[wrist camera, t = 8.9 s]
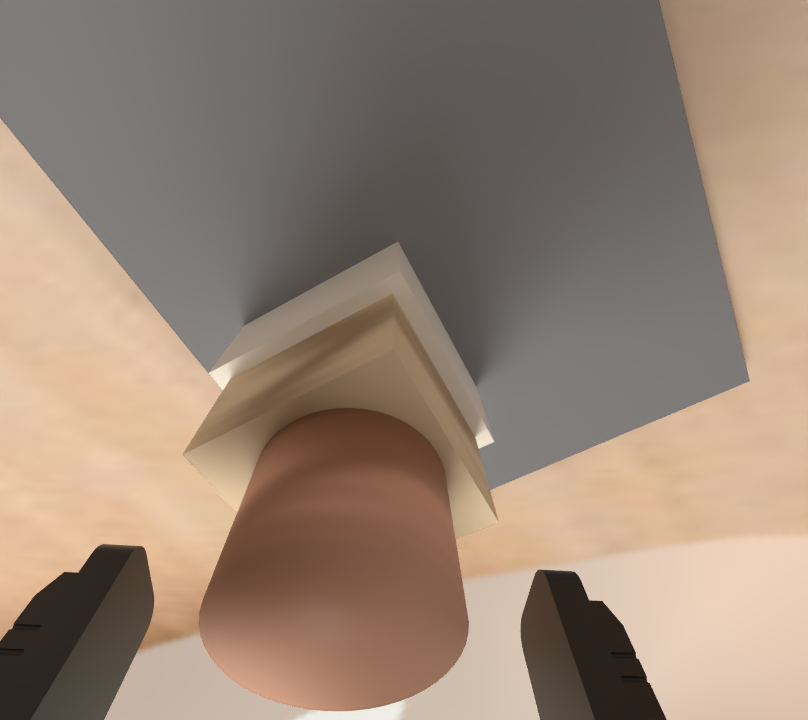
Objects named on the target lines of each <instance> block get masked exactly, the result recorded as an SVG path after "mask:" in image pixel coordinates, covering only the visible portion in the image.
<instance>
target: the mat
mask: <svg viewBox="0 0 808 720" xmlns="http://www.w3.org/2000/svg"><path fill="white" fill-rule="evenodd" d="M0 118H1V119H2V121H3V122H4V123H5V124H6V125H7V127H8V128H9V129H10V130H11V132H12V133H13V134H14V135H15V136H16V138H17V139H18V140H19V141H20V143H21V144H22V145H23V146H24V147H25V149H26V150H27V151H28V152H29V154H30V155H31V156H32V157H33V159H34V160H35V161H36V162H37V163H38V165H39V166H40V167H41V168H42V170H43V171H44V172H45V173H46V174H47V176H48V177H49V178H50V179H51V181H52V182H53V183H54V184H55V186H56V187H57V188H58V189H59V190H60V192H61V193H62V194H63V195H64V197H65V198H66V199H67V200H68V201H69V203H70V204H71V205H72V206H73V208H74V209H75V210H76V211H77V213H78V214H79V215H80V216H81V217H82V219H83V220H84V221H85V222H86V224H87V225H88V226H89V227H90V228H91V230H92V231H93V232H94V233H95V235H96V236H97V237H98V238H99V239H100V241H101V242H102V243H103V244H104V246H105V247H106V248H107V249H108V251H109V252H110V253H111V254H112V255H113V257H114V258H115V259H116V260H117V262H118V263H119V264H120V265H121V266H122V268H123V269H124V270H125V271H126V273H127V274H128V275H129V276H130V278H131V279H132V280H133V281H134V282H135V284H136V285H137V286H138V287H139V289H140V290H141V291H142V292H143V293H144V295H145V296H146V297H147V298H148V300H149V301H150V302H151V303H152V304H153V306H154V307H155V308H156V309H157V311H158V312H159V313H160V314H161V316H162V317H163V318H164V319H165V320H166V322H167V323H168V324H169V325H170V327H171V328H172V329H173V330H174V331H175V333H176V334H177V335H178V336H179V338H180V339H181V340H182V341H183V343H184V344H185V345H186V346H187V347H188V349H189V350H190V351H191V352H192V354H193V355H194V356H195V357H196V358H197V360H198V361H199V362H200V363H201V365H202V366H203V367H204V368H205V369H206V371H207V372H208V373H209V372H210V370H211V369H212V368H213V366H214V365H215V364H216V362H217V361H218V360H219V358H220V357H221V355H222V354H223V353H224V351H225V350H226V349H227V347H228V346H229V344H230V343H231V342H232V340H233V339H234V338H235V336H236V335H237V334H238V332H239V331H240V329H241V328H242V327H243V326H244V325H246V324H248V323H250V322H252V321H253V320H255V319H257V318H259V317H261V316H263V315H264V314H266V313H268V312H270V311H272V310H274V309H275V308H277V307H279V306H281V305H283V304H285V303H286V302H288V301H290V300H292V299H294V298H295V297H297V296H299V295H301V294H303V293H305V292H306V291H308V290H310V289H312V288H314V287H316V286H317V285H319V284H321V283H323V282H325V281H327V280H328V279H330V278H332V277H334V276H336V275H338V274H339V273H341V272H343V271H345V270H347V269H349V268H350V267H352V266H354V265H356V264H358V263H359V262H361V261H363V260H365V259H367V258H369V257H370V256H372V255H374V254H376V253H378V252H380V251H381V250H383V249H385V248H387V247H389V246H391V245H392V244H394V243H396V242H399V244H400V246H401V248H402V250H403V252H404V254H405V255H406V257H407V259H408V261H409V263H410V265H411V267H412V268H413V270H414V272H415V274H416V276H417V278H418V280H419V281H420V283H421V285H422V287H423V289H424V291H425V292H426V294H427V296H428V298H429V300H430V302H431V304H432V305H433V307H434V309H435V311H436V313H437V315H438V317H439V318H440V320H441V322H442V324H443V326H444V328H445V330H446V331H447V333H448V335H449V337H450V339H451V341H452V343H453V344H454V346H455V348H456V350H457V352H458V354H459V356H460V357H461V359H462V361H463V363H464V365H465V367H466V369H467V370H468V372H469V374H470V376H471V378H472V380H473V381H474V383H475V385H476V387H477V390H478V393H479V397H480V400H481V403H482V406H483V409H484V412H485V415H486V418H487V421H488V424H489V427H490V430H491V433H492V436H493V439H494V442H493V443H491V444H488V445H486V446H484V447H482V448H479V452H480V456H481V460H482V463H483V467H484V471H485V474H486V478H487V481H488V485H489V489H490V490H491V489H493V488H496V487H498V486H500V485H503V484H505V483H508V482H510V481H512V480H515V479H517V478H520V477H522V476H524V475H527V474H529V473H531V472H534V471H536V470H539V469H541V468H543V467H546V466H548V465H551V464H553V463H555V462H558V461H560V460H562V459H565V458H567V457H570V456H572V455H574V454H577V453H579V452H582V451H584V450H586V449H589V448H591V447H593V446H596V445H598V444H601V443H603V442H605V441H608V440H610V439H613V438H615V437H617V436H620V435H622V434H624V433H627V432H629V431H632V430H634V429H636V428H639V427H641V426H644V425H646V424H648V423H651V422H653V421H655V420H658V419H660V418H663V417H665V416H667V415H670V414H672V413H675V412H677V411H679V410H682V409H684V408H686V407H689V406H691V405H694V404H696V403H698V402H701V401H703V400H706V399H708V398H710V397H713V396H715V395H717V394H720V393H722V392H725V391H727V390H729V389H732V388H734V387H737V386H739V385H741V384H744V383H746V382H748V381H750V380H749V376H748V372H747V368H746V363H745V359H744V355H743V351H742V347H741V342H740V338H739V334H738V330H737V326H736V322H735V317H734V313H733V309H732V305H731V301H730V297H729V292H728V288H727V284H726V280H725V276H724V272H723V267H722V263H721V259H720V255H719V251H718V247H717V242H716V238H715V234H714V230H713V226H712V222H711V217H710V213H709V209H708V205H707V201H706V197H705V192H704V188H703V184H702V180H701V176H700V171H699V167H698V163H697V159H696V155H695V151H694V146H693V142H692V138H691V134H690V130H689V126H688V121H687V117H686V113H685V109H684V105H683V101H682V96H681V92H680V88H679V84H678V80H677V76H676V71H675V67H674V63H673V59H672V55H671V51H670V46H669V42H668V38H667V34H666V30H665V26H664V21H663V17H662V13H661V9H660V5H659V0H0ZM210 376H211V375H210ZM214 381H215V380H214ZM219 387H220V386H219Z"/></svg>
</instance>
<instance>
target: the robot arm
mask: <svg viewBox="0 0 808 720" xmlns="http://www.w3.org/2000/svg"><path fill="white" fill-rule="evenodd" d="M153 608H154V593H153V588H152V582H151V577H150V571H149V566H148V560H147V555H146V551H145V549H144V548H143V547H142V546H127V545H109V544H102V545H100V546H98V547H97V548H96V549H95V550H94V551H93V553H92V554H91V555H90V557H89V558H88V560H87V561H86V563H85V564H84V565H83V567H82V568H81V570H80V571H79V573H73V572H64V573H63V574H61V575H60V576H59V577H58V578H56V579H55V580H54V581H53V582H51V583H50V584H49V585H48V586H46V587H45V588H44V589H42V590H41V591H40V592H39V593H37V594H36V595H35V596H34V597H33V599H32V600H31V601H30V603H29V604H28V605H27V607H26V608H25V609H24V611H23V612H22V613H21V615H20V616H19V617H18V619H17V620H16V621H15V623H14V626H13V628H12V629H11V630H8V632H7V633H6V634H5V636H4V637H3V638H2V640H1V641H0V720H104V719H105V717H106V715H107V712H108V710H109V708H110V706H111V704H112V702H113V700H114V698H115V696H116V694H117V692H118V690H119V688H120V686H121V684H122V681H123V679H124V677H125V675H126V673H127V671H128V669H129V667H130V665H131V663H132V661H133V659H134V657H135V655H136V653H137V650H138V648H139V646H140V644H141V642H142V640H143V638H144V636H145V634H146V632H147V630H148V627H149V624H150V621H151V618H152V614H153ZM521 641H522V648H523V652H524V656H525V660H526V664H527V668H528V672H529V676H530V680H531V684H532V688H533V692H534V696H535V700H536V704H537V708H538V712H539V716H540V720H666V717H665V715H664V713H663V711H662V709H661V707H660V705H659V702H658V700H657V699H656V696H655V694H654V692H653V689H652V688H651V685H650V683H648V682H647V679H646V678H647V676H646V674H645V672H644V670H643V668H642V665H641V663H640V661H639V659H637V658H636V652H635V650H634V648H633V646H632V644H631V642H630V639H629V637H628V635H627V633H626V631H625V629H624V626H623V625H622V624H621V623H620V621H619V620H618V619H617V618H616V617H615V615H614V614H613V613H612V612H611V611H610V610H609V608H608V607H607V606H606V605H605V604H604V603H603V601H589V599H588V597H587V594H586V592H585V590H584V587H583V585H582V582H581V580H580V578H579V576H578V575H577V574H576V573H575V572H572V571H555V570H538V571H537V572H536V573H535V576H534V579H533V582H532V586H531V589H530V592H529V595H528V598H527V601H526V605H525V608H524V611H523V614H522V619H521Z"/></svg>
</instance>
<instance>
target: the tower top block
mask: <svg viewBox="0 0 808 720" xmlns="http://www.w3.org/2000/svg"><path fill="white" fill-rule="evenodd" d="M335 408H360V409H367V410H373V411H378V412H381V413H384V414H388V415H390V416H393V417H395V418H397V419H400V420H402V421H403V422H405V423H407V424H408V425H410V426H412V427H413V428H414V429H416V430H417V431H418V432H420V433H421V434H422V435H423V436H424V437H425V438H426V439H427V440H428V441H429V442H430V443H431V445H432V446H433V447H434V449H435V450H436V452H437V454H438V455H439V457H440V459H441V461H442V464H443V467H444V470H445V476H446V482H447V489H448V495H449V501H450V508H451V514H452V520H453V526H454V533H455V539H458V538H460V537H463V536H465V535H468V534H470V533H473V532H475V531H478V530H480V529H483V528H485V527H487V526H490V525H492V524H495V523H497V522H498V518H497V514H496V511H495V507H494V503H493V500H492V496H491V492H490V489H489V485H488V481H487V478H486V474H485V471H484V467H483V463H482V460H481V456H480V452H479V449H478V445H477V441H476V438H475V436H474V434H473V432H472V431H471V429H470V427H469V425H468V424H467V422H466V420H465V418H464V417H463V415H462V413H461V411H460V410H459V408H458V406H457V404H456V403H455V401H454V399H453V397H452V396H451V394H450V392H449V390H448V389H447V387H446V385H445V383H444V382H443V380H442V378H441V376H440V375H439V373H438V371H437V369H436V368H435V366H434V364H433V363H432V361H431V359H430V357H429V356H428V354H427V352H426V350H425V349H424V347H423V345H422V343H421V342H420V340H419V338H418V336H417V335H416V333H415V331H414V329H413V328H412V326H411V324H410V322H409V321H408V319H407V317H406V315H405V314H404V312H403V310H402V308H401V307H400V305H399V303H398V301H397V300H396V298H395V296H394V294H393V293H392V294H390V295H388V296H386V297H384V298H383V299H381V300H379V301H377V302H375V303H373V304H371V305H369V306H367V307H365V308H364V309H362V310H360V311H358V312H356V313H354V314H352V315H350V316H348V317H346V318H345V319H343V320H341V321H339V322H337V323H335V324H333V325H331V326H329V327H327V328H326V329H324V330H322V331H320V332H318V333H316V334H314V335H312V336H310V337H308V338H307V339H305V340H303V341H301V342H299V343H297V344H295V345H293V346H291V347H289V348H288V349H286V350H284V351H282V352H280V353H278V354H276V355H274V356H272V357H270V358H269V359H267V360H265V361H263V362H261V363H259V364H257V365H255V366H253V367H252V368H250V369H248V370H246V371H244V372H242V373H240V374H238V375H236V376H234V377H233V378H231V379H230V380H229V382H228V383H227V385H226V386H225V388H224V390H223V391H222V393H221V394H220V396H219V397H218V399H217V401H216V402H215V404H214V405H213V407H212V409H211V410H210V412H209V413H208V415H207V417H206V418H205V420H204V421H203V423H202V425H201V426H200V428H199V429H198V431H197V432H196V434H195V436H194V437H193V439H192V440H191V442H190V444H189V445H188V447H187V448H186V450H185V452H184V453H183V456H184V457H185V458H186V459H187V460H188V461H189V462H190V463H191V464H192V465H193V466H194V468H195V469H196V470H197V471H198V472H199V473H200V474H201V475H202V476H203V477H204V478H205V479H206V480H207V482H208V483H209V484H210V485H211V486H212V487H213V488H214V489H215V490H216V491H217V492H218V493H219V495H220V496H221V497H222V498H223V499H224V500H225V501H226V502H227V503H228V504H229V505H230V506H231V507H232V509H233V510H234V511H235V512H236V513H237V512H238V509H239V507H240V504H241V502H242V499H243V497H244V494H245V492H246V489H247V487H248V484H249V481H250V479H251V476H252V474H253V471H254V469H255V466H256V464H257V461H258V459H259V457H260V455H261V453H262V451H263V449H264V447H265V446H266V445H267V443H268V442H269V441H270V439H271V438H272V437H273V436H274V435H275V434H276V433H277V432H279V431H280V430H281V429H282V428H284V427H285V426H286V425H288V424H290V423H291V422H293V421H295V420H297V419H299V418H301V417H304V416H306V415H308V414H311V413H315V412H319V411H322V410H328V409H335Z"/></svg>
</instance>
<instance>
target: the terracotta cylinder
mask: <svg viewBox="0 0 808 720" xmlns="http://www.w3.org/2000/svg"><path fill="white" fill-rule="evenodd" d="M468 627H469V621H468V615H467V609H466V603H465V596H464V590H463V583H462V577H461V570H460V564H459V558H458V552H457V545H456V539H455V533H454V526H453V520H452V514H451V508H450V501H449V495H448V489H447V482H446V476H445V470H444V467H443V464H442V461H441V459H440V457H439V455H438V454H437V452H436V450H435V449H434V447H433V446H432V445H431V443H430V442H429V441H428V440H427V439H426V438H425V437H424V436H423V435H422V434H421V433H420V432H418V431H417V430H416V429H414V428H413V427H412V426H410V425H408V424H407V423H405V422H403V421H402V420H400V419H397V418H395V417H393V416H390V415H388V414H384V413H381V412H378V411H373V410H367V409H360V408H335V409H328V410H322V411H319V412H315V413H311V414H308V415H306V416H304V417H301V418H299V419H297V420H295V421H293V422H291V423H290V424H288V425H286V426H285V427H284V428H282V429H281V430H280V431H279V432H277V433H276V434H275V435H274V436H273V437H272V438H271V439H270V441H269V442H268V443H267V445H266V446H265V447H264V449H263V451H262V453H261V455H260V457H259V459H258V461H257V464H256V466H255V469H254V471H253V474H252V476H251V479H250V481H249V484H248V487H247V489H246V492H245V494H244V497H243V499H242V502H241V504H240V507H239V509H238V512H237V515H236V517H235V520H234V522H233V525H232V527H231V530H230V532H229V535H228V537H227V540H226V543H225V545H224V548H223V550H222V553H221V555H220V558H219V560H218V563H217V565H216V568H215V570H214V573H213V576H212V578H211V581H210V583H209V586H208V588H207V591H206V593H205V596H204V598H203V601H202V605H201V609H200V614H199V628H200V635H201V638H202V641H203V644H204V646H205V648H206V650H207V652H208V654H209V655H210V657H211V658H212V660H213V661H214V662H215V663H216V665H217V666H218V667H219V668H220V669H221V670H222V671H223V672H224V673H225V674H226V675H227V676H229V677H230V678H231V679H233V680H234V681H235V682H236V683H238V684H239V685H241V686H243V687H244V688H246V689H248V690H250V691H251V692H253V693H256V694H258V695H260V696H262V697H264V698H267V699H270V700H273V701H275V702H278V703H282V704H286V705H290V706H294V707H299V708H305V709H311V710H321V711H354V710H362V709H370V708H375V707H380V706H385V705H388V704H392V703H395V702H398V701H401V700H404V699H406V698H409V697H411V696H413V695H415V694H417V693H419V692H421V691H423V690H425V689H427V688H428V687H430V686H431V685H433V684H434V683H436V682H437V681H438V680H439V679H440V678H442V677H443V676H444V675H445V674H446V673H447V672H448V671H449V670H450V669H451V668H452V667H453V666H454V665H455V663H456V662H457V660H458V659H459V657H460V656H461V654H462V651H463V649H464V647H465V645H466V641H467V636H468Z"/></svg>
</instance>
